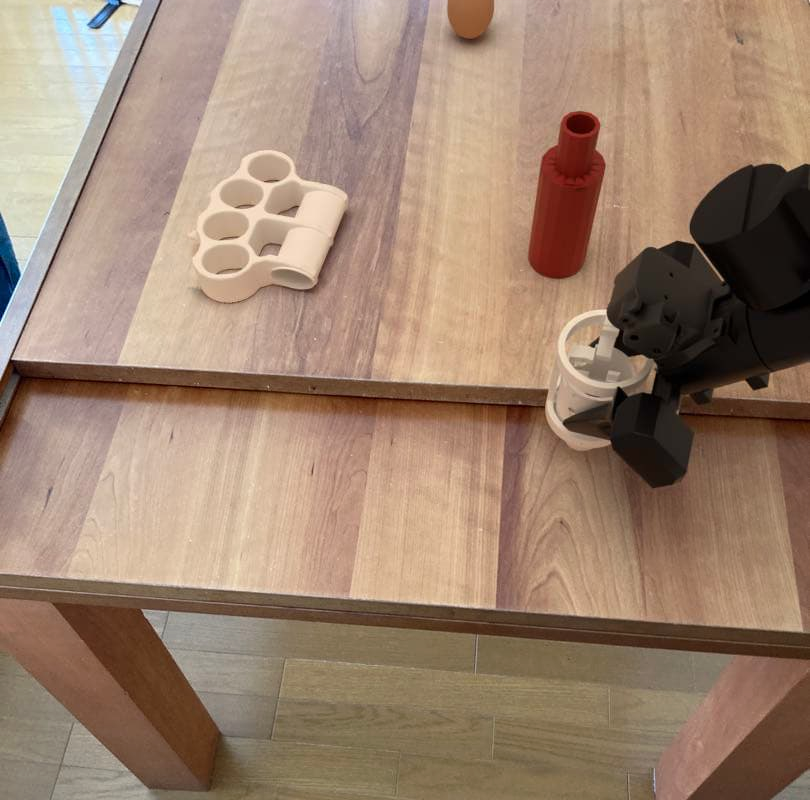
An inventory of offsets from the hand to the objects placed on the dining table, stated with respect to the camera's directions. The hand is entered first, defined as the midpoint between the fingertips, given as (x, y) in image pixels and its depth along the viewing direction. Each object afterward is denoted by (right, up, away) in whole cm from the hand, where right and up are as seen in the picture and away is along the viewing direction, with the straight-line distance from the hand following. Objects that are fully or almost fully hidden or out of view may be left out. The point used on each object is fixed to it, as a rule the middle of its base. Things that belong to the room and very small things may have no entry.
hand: (575, 390), depth 66 cm
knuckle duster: (-28, +19, +19) cm, 39 cm away
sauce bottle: (+2, +16, +16) cm, 23 cm away
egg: (-6, +48, +32) cm, 58 cm away
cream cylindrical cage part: (+2, -4, +7) cm, 8 cm away
